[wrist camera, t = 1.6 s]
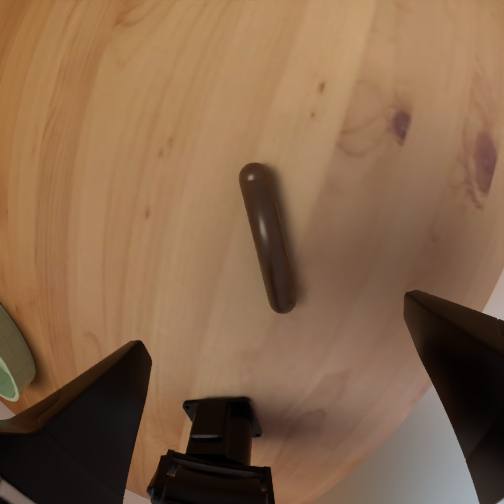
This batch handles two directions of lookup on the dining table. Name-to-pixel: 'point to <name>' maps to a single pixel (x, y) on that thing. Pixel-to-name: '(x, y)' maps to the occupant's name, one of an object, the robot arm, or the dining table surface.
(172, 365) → the dining table surface
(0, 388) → the bowl
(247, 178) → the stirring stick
